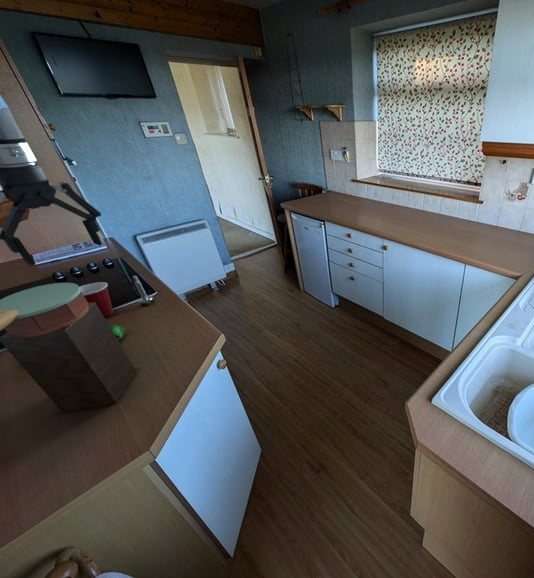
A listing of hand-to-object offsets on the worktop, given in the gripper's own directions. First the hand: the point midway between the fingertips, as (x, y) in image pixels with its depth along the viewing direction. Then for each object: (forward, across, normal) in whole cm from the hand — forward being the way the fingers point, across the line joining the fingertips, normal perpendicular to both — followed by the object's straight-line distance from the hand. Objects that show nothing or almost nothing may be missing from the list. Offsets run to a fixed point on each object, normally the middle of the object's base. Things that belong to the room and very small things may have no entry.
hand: (67, 253), depth 75 cm
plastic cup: (+36, +9, +32) cm, 49 cm away
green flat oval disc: (+7, -15, -12) cm, 20 cm away
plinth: (+36, -11, -8) cm, 38 cm away
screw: (+36, +21, +25) cm, 49 cm away
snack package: (+36, -2, +14) cm, 39 cm away
